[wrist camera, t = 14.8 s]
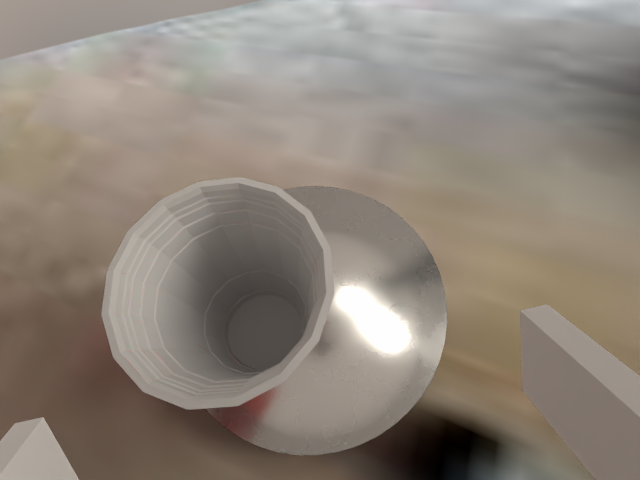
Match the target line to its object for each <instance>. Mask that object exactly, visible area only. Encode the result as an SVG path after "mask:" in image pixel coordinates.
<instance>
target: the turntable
mask: <svg viewBox="0 0 640 480" xmlns="http://www.w3.org/2000/svg"><path fill="white" fill-rule="evenodd" d="M283 191H285V192H286V193H287V194H289V195H290V196H291V197H293V198H294V199H295V200H296V201H298V202H299V203H300V204H302V205H303V206H304V207H306V208H307V209H308V210H310V211H311V213H312V215H313V216H314V218H315V220H316V222H317V224H318V226H319V228H320V229H321V231H322V233H323V235H324V237H325V239H326V240H327V242H328V244H329V246H330V248H331V257H332V269H333V281H334V297H333V300H332V303H331V306H330V309H329V312H328V315H327V318H326V321H325V324H324V327H323V330H322V333H321V336H320V340H319V342H318V343H317V344H316V345H315V346H314V348H313V349H312V350H311V351H310V352H309V354H308V355H307V356H306V357H305V358H304V359H303V361H302V362H301V363H300V364H299V365H298V367H297V368H296V369H295V370H294V371H293V373H292V374H291V375H290V376H289V377H288V378H287V380H286V381H285V382H283V383H281V384H279V385H277V386H275V387H273V388H272V389H270V390H268V391H266V392H264V393H262V394H260V395H258V396H256V397H254V398H253V399H251V400H249V401H247V402H245V403H243V404H241V405H239V406H233V407H219V408H205V409H206V410H207V411H208V412H209V413H210V415H212V416H213V417H214V418H215V419H216V420H217V421H218V422H219V423H220V424H221V425H223V426H224V427H225V428H226V429H228V430H229V431H231V432H232V433H234V434H235V435H237V436H238V437H240V438H241V439H244V440H246V441H248V442H250V443H252V444H254V445H256V446H258V447H262V448H265V449H268V450H272V451H275V452H279V453H286V454H293V455H321V454H328V453H334V452H340V451H343V450H346V449H349V448H352V447H355V446H359V445H361V444H363V443H365V442H367V441H369V440H371V439H373V438H375V437H377V436H379V435H380V434H382V433H383V432H384V431H386V430H387V429H389V428H390V427H392V426H393V425H395V424H396V423H397V422H398V421H399V420H400V419H401V418H402V417H403V416H404V415H406V414H407V413H408V412H409V411H410V410H411V408H412V407H413V406H414V405H415V403H416V402H417V401H418V400H419V399H420V397H421V396H422V395H423V393H424V391H425V390H426V388H427V386H428V385H429V383H430V381H431V380H432V378H433V376H434V373H435V371H436V368H437V366H438V364H439V361H440V358H441V354H442V351H443V347H444V343H445V336H446V328H447V305H446V298H445V291H444V286H443V283H442V280H441V276H440V273H439V270H438V268H437V266H436V263H435V261H434V259H433V257H432V255H431V253H430V252H429V250H428V248H427V247H426V245H425V243H424V242H423V241H422V239H421V238H420V237H419V236H418V234H417V233H416V232H415V230H414V229H413V228H412V227H411V226H410V225H409V224H408V223H407V222H406V221H405V220H403V219H402V218H401V217H400V216H399V215H397V214H396V213H395V212H393V211H392V210H391V209H389V208H388V207H386V206H384V205H383V204H381V203H379V202H377V201H376V200H373V199H371V198H369V197H366V196H364V195H362V194H359V193H355V192H352V191H349V190H345V189H339V188H333V187H321V186H310V187H297V188H291V189H285V190H283Z"/></svg>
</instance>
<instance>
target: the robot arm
mask: <svg viewBox="0 0 640 480" xmlns="http://www.w3.org/2000/svg"><path fill="white" fill-rule="evenodd" d="M520 325H521V365H522V391H523V392H524V393H525V394H526V396H527V397H528V398H529V399H530V401H531V402H532V403H533V404H534V405H535V407H536V408H537V409H538V410H539V411H540V413H541V414H542V415H543V416H544V418H545V419H546V420H547V421H548V422H549V424H550V425H551V426H552V427H553V429H554V430H555V431H556V432H557V433H558V435H559V436H560V437H561V438H562V440H563V441H564V442H565V443H566V444H567V446H568V447H569V448H570V449H571V450H572V452H573V453H574V454H575V455H576V457H577V458H578V459H579V460H580V461H581V463H582V464H583V465H584V466H585V468H586V469H587V470H588V471H589V472H590V474H591V475H592V476H593V477H594V478H595V480H640V376H639V375H638V374H636V373H635V372H634V371H632V370H631V369H630V368H629V367H627V366H626V365H625V364H623V363H622V362H621V361H620V360H618V359H617V358H616V357H614V356H613V355H612V354H611V353H609V352H608V351H607V350H605V349H604V348H603V347H602V346H600V345H599V344H598V343H596V342H595V341H594V340H593V339H591V338H590V337H589V336H587V335H586V334H585V333H584V332H582V331H581V330H580V329H578V328H577V327H576V326H575V325H573V324H572V323H571V322H569V321H568V320H567V319H566V318H564V317H563V316H562V315H560V314H559V313H558V312H557V311H555V310H554V309H553V308H551V307H550V306H549V305H548V304H547V305H542V306H538V307H533V308H529V309H524V310H520ZM0 480H79V479H78V477H77V475H76V474H75V472H74V470H73V468H72V467H71V465H70V463H69V461H68V460H67V458H66V456H65V454H64V453H63V451H62V449H61V447H60V446H59V444H58V442H57V440H56V439H55V437H54V435H53V433H52V432H51V430H50V428H49V426H48V425H47V423H46V421H45V419H44V418H43V417H41V418H37V419H32V420H28V421H23V422H19V423H15V424H14V425H13V426H12V427H11V429H10V430H9V431H8V432H7V434H6V435H5V436H4V437H3V438H2V440H1V441H0Z"/></svg>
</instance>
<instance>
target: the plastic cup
mask: <svg viewBox="0 0 640 480" xmlns="http://www.w3.org/2000/svg"><path fill="white" fill-rule="evenodd" d="M333 297H334V281H333V269H332V257H331V248H330V246H329V244H328V242H327V240H326V239H325V237H324V235H323V233H322V231H321V229H320V228H319V226H318V224H317V222H316V220H315V218H314V216H313V215H312V213H311V211H310V210H308V209H307V208H306V207H304V206H303V205H302V204H300V203H299V202H298V201H296V200H295V199H294V198H293V197H291V196H290V195H289V194H287V193H286V192H285V191H283V190H282V189H281V188H279V187H277V186H273V185H269V184H265V183H261V182H258V181H254V180H250V179H246V178H242V177H234V178H225V179H216V180H207V181H199V182H197V183H194V184H192V185H190V186H188V187H186V188H184V189H182V190H180V191H178V192H176V193H173V194H171V195H169V196H167V197H165V198H163V199H161V200H159V201H158V202H157V203H156V204H155V205H154V206H153V207H152V208H151V209H150V210H149V211H148V212H147V213H146V214H145V215H144V216H143V217H142V218H141V219H139V220H138V221H137V222H136V223H135V224H134V225H133V226H132V227H131V228H130V229H129V230H128V232H127V234H126V235H125V237H124V239H123V241H122V243H121V245H120V247H119V249H118V251H117V252H116V254H115V256H114V258H113V260H112V262H111V264H110V266H109V268H108V270H107V276H106V283H105V291H104V298H103V306H102V313H101V315H102V319H103V322H104V326H105V330H106V333H107V337H108V341H109V344H110V348H111V352H112V356H113V358H114V359H115V360H116V362H117V363H118V364H119V365H120V366H121V367H122V368H123V370H124V371H125V372H126V373H127V374H128V375H129V377H130V378H131V379H132V380H133V381H134V382H135V383H136V385H137V386H138V387H139V388H140V389H141V390H142V391H143V392H144V393H147V394H149V395H152V396H154V397H157V398H159V399H162V400H164V401H167V402H169V403H172V404H174V405H177V406H179V407H182V408H184V409H187V410H191V409H205V408H219V407H233V406H239V405H241V404H243V403H245V402H247V401H249V400H251V399H253V398H254V397H256V396H258V395H260V394H262V393H264V392H266V391H268V390H270V389H272V388H273V387H275V386H277V385H279V384H281V383H283V382H285V381H286V380H287V378H288V377H289V376H290V375H291V374H292V373H293V371H294V370H295V369H296V368H297V367H298V365H299V364H300V363H301V362H302V361H303V359H304V358H305V357H306V356H307V355H308V354H309V352H310V351H311V350H312V349H313V348H314V346H315V345H316V344H317V343H318V342H319V340H320V336H321V333H322V330H323V327H324V324H325V321H326V318H327V315H328V312H329V309H330V306H331V303H332V300H333Z"/></svg>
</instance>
